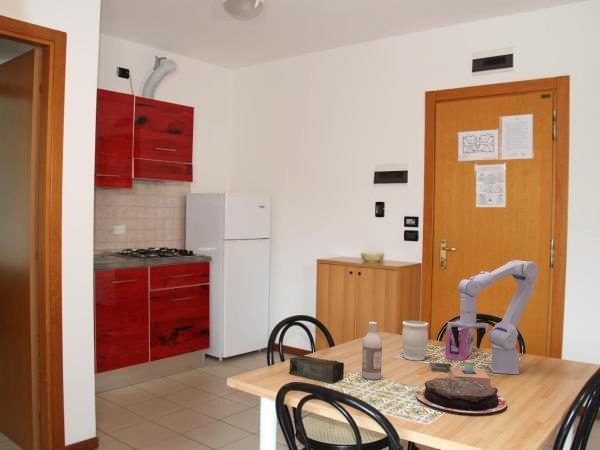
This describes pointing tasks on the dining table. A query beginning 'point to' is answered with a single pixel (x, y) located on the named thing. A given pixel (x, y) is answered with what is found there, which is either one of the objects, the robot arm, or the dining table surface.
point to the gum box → (464, 343)
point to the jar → (415, 339)
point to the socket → (470, 375)
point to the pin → (468, 366)
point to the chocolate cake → (461, 396)
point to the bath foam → (372, 354)
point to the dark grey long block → (317, 368)
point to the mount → (440, 367)
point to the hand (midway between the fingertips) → (467, 347)
